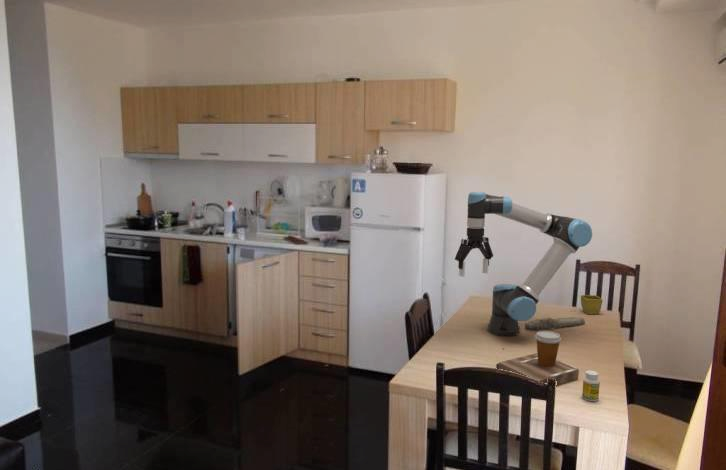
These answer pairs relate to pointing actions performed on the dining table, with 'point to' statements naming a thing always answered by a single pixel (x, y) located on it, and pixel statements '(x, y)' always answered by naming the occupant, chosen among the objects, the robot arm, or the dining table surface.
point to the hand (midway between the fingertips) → (473, 274)
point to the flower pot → (591, 304)
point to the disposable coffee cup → (547, 347)
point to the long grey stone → (554, 323)
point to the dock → (540, 369)
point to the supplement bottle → (591, 386)
